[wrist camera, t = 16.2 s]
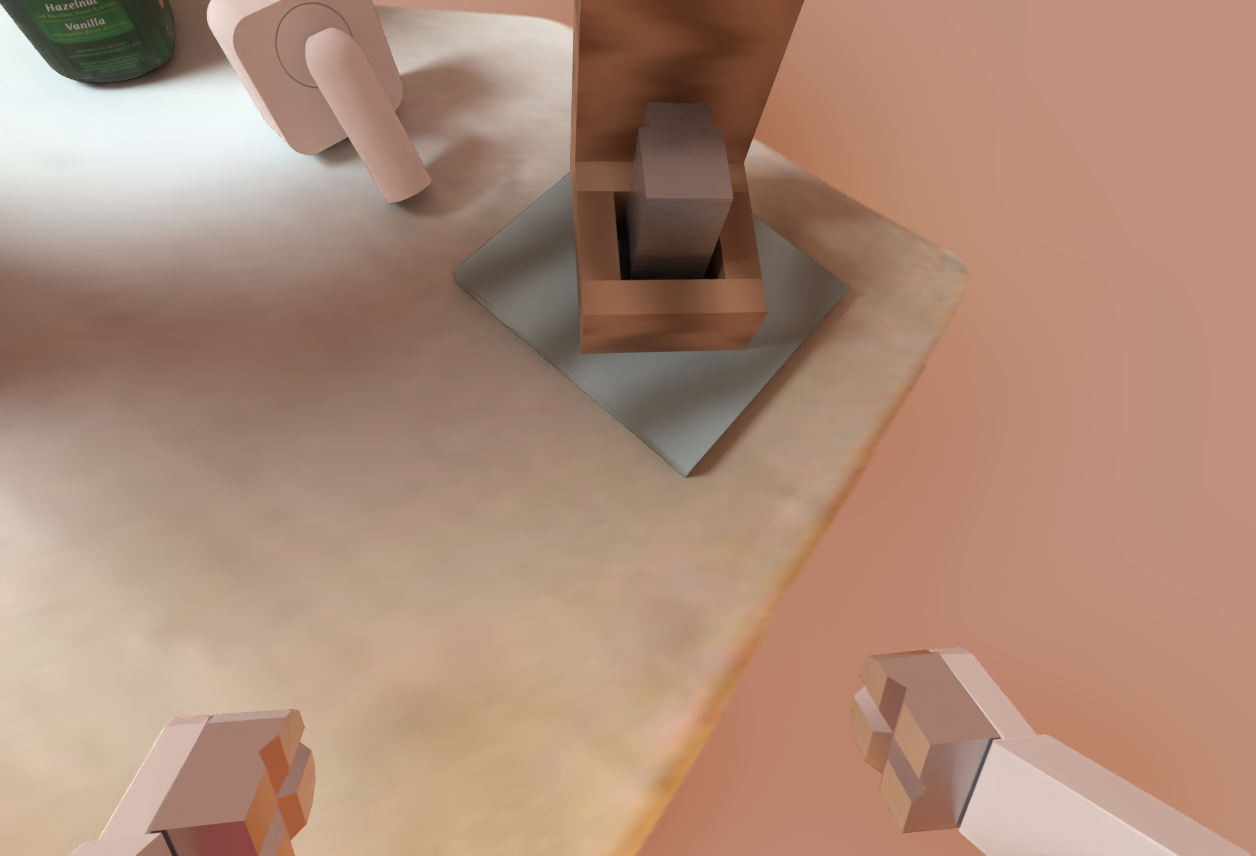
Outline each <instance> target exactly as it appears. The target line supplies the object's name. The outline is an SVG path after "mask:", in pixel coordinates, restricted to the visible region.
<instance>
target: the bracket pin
mask: <svg viewBox="0 0 1256 856" xmlns="http://www.w3.org/2000/svg"><path fill="white" fill-rule="evenodd" d="M732 201H733V193H732V186H731V179H730V173H729V166H728V160H727V153H726V147H725V140H724V134H723V128H712V122H711V115H710V108H709V103H662V102H647V105H646V111H645V118H644V124H643V127H639V131H638V138H637V144H636V151H635V157H634V164H633V170H632V177H631V184H630V190H629V197H628V203H627V210H626V216H625V223H624V230H623V236H622V243H621V249H620V256H621V268H622V280H695V279H703V278H704V275H705V272H706V270H707V267H708V264H709V262H710V259H711V256H712V254H713V251H714V249H715V246H716V243H717V241H718V238H719V235H720V233H721V230H722V227H723V225H724V222H725V220H726V217H727V214H728V212H729V209H730V206H731V204H732Z"/></svg>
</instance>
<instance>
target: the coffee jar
mask: <svg viewBox="0 0 1256 856" xmlns="http://www.w3.org/2000/svg"><path fill="white" fill-rule="evenodd" d="M0 4H1V5H2V6H3V8H4V9H5V10H6V12H7V13H8V14H9V15H10V17H11V18H12V19H13V21H14V22H15V23H16V25H17V26H18V27H19V28H20V30H21V31H22V32H23V33H24V35H25V36H26V37H27V38H28V40H29V41H30V42H31V43H32V45H33V46H34V47H35V48H36V50H37V51H38V52H39V53H40V55H41V56H42V57H43V58H44V59H45V61H46V62H47V63H48V64H49V65H50V67H51V68H52V69H54V70H55V71H56V72H58V73H59V74H61V75H62V76H65V77H67V78H70V79H73V80H77V81H85V82H115V81H123V80H127V79H131V78H135V77H138V76H140V75H142V74H144V73H146V72H148V71H151V70H153V69H155V68H157V67H158V66H160V65H161V64H163V63H164V62H166V61H167V60H168V59H169V58H170V57H171V55H172V53H173V49H174V22H173V17H172V11H171V7H170V3H169V1H168V0H0Z"/></svg>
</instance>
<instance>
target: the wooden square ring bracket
mask: <svg viewBox="0 0 1256 856" xmlns="http://www.w3.org/2000/svg"><path fill="white" fill-rule="evenodd" d="M803 2H804V0H574V32H573V72H572V112H571V151H570V173H568V174H567V175H566V176H565V177H564V178H563V179H561V180H560V181H559V182H558V183H557V184H555V185H554V186H553V187H552V188H551V189H550V190H548V191H547V192H546V193H545V194H544V195H542V196H541V197H540V198H539V199H538V200H537V201H535V202H534V203H533V204H532V205H531V206H529V207H528V208H527V209H526V210H525V211H524V212H522V213H521V214H520V215H519V216H518V217H516V218H515V219H514V220H513V221H512V222H511V223H509V224H508V225H507V226H506V227H505V228H503V229H502V230H501V231H500V232H499V233H497V234H496V235H495V236H494V237H493V238H492V239H490V240H489V241H488V242H487V243H486V244H484V245H483V246H482V247H481V248H480V249H479V250H477V251H476V252H475V253H474V254H473V255H471V256H470V257H469V258H468V259H467V260H466V261H464V262H463V263H462V264H461V265H460V266H458V267H457V268H456V269H455V270H454V271H453V274H454V278H455V282H456V283H457V284H458V285H459V286H460V287H462V288H463V289H464V290H465V291H466V292H467V293H469V294H470V295H471V296H472V297H473V298H475V299H476V300H477V301H478V302H479V303H480V304H482V305H483V306H484V307H485V308H486V309H487V310H489V311H490V312H491V313H492V314H493V315H495V316H496V317H497V318H498V319H499V320H500V321H502V322H503V323H504V324H505V325H506V326H508V327H509V328H510V329H511V330H512V331H513V332H515V333H516V334H517V335H518V336H519V337H520V338H522V339H523V340H524V341H525V342H526V343H528V344H529V345H530V346H531V347H532V348H533V349H535V350H536V351H537V352H538V353H539V354H540V355H542V356H543V357H544V358H545V359H546V360H548V361H549V362H550V363H551V364H552V365H553V366H555V367H556V368H557V369H558V370H559V371H561V372H562V373H563V374H564V375H565V376H566V377H568V378H569V379H570V380H571V381H572V382H573V383H575V384H576V385H577V386H578V387H579V388H581V389H582V390H583V391H584V392H585V393H586V394H588V395H589V396H590V397H591V398H592V399H593V400H595V401H596V402H597V403H598V404H599V405H601V406H602V407H603V408H604V409H605V410H606V411H608V412H609V413H610V414H611V415H612V416H613V417H615V418H616V419H617V420H618V421H619V422H621V423H622V424H623V425H624V426H625V427H626V428H628V429H629V430H630V431H631V432H632V433H634V434H635V435H636V436H637V437H638V438H639V439H641V440H642V441H643V442H644V443H645V444H646V445H648V446H649V447H650V448H651V449H652V450H654V451H655V452H656V453H657V454H658V455H659V456H661V457H662V458H663V459H664V460H665V461H666V462H668V463H669V464H670V465H671V466H672V467H674V468H675V469H676V470H677V471H678V472H679V473H681V474H682V475H683V476H684V477H686V476H687V475H688V474H689V473H690V472H691V470H692V469H693V468H694V467H695V466H696V465H697V463H698V462H699V461H700V460H701V459H702V458H703V457H704V455H705V454H706V453H707V452H708V451H709V450H710V449H711V447H712V446H713V445H714V444H715V443H716V442H717V440H718V439H719V438H720V437H721V436H722V435H723V434H724V432H725V431H726V430H727V429H728V428H729V427H730V425H731V424H732V423H733V422H734V421H735V420H736V419H737V417H738V416H739V415H740V414H741V413H742V412H743V410H744V409H745V408H746V407H747V406H748V405H749V404H750V402H751V401H752V400H753V399H754V398H755V397H756V396H757V394H758V393H759V392H760V391H761V390H762V389H763V387H764V386H765V385H766V384H767V383H768V382H769V381H770V379H771V378H772V377H773V376H774V375H775V374H776V372H777V371H778V370H779V369H780V368H781V367H782V366H783V364H784V363H785V362H786V361H787V360H788V359H789V358H790V356H791V355H792V354H793V353H794V352H795V351H796V349H797V348H798V347H799V346H800V345H801V344H802V343H803V341H804V340H805V339H806V338H807V337H808V336H809V334H810V333H811V332H812V331H813V330H814V329H815V328H816V326H817V325H818V324H819V323H820V322H821V321H822V320H823V318H824V317H825V316H826V315H827V314H828V313H829V311H830V310H831V309H832V308H833V307H834V306H835V305H836V303H837V302H838V301H839V300H840V299H841V298H842V296H843V295H844V294H845V292H846V291H847V290H848V289H849V287H848V286H847V285H845V284H844V283H843V282H841V281H840V280H839V279H837V278H836V277H835V276H834V275H832V274H831V273H830V272H828V271H827V270H826V269H824V268H823V267H822V266H820V265H819V264H818V263H816V262H815V261H814V260H812V259H811V258H810V257H808V256H807V255H806V254H805V253H803V252H802V251H801V250H799V249H798V248H797V247H795V246H794V245H793V244H791V243H790V242H789V241H787V240H786V239H785V238H783V237H782V236H781V235H779V234H778V233H777V232H776V231H774V230H773V229H772V228H770V227H769V226H768V225H766V224H765V223H764V222H762V221H761V220H760V219H758V218H757V217H756V216H754V215H753V214H752V212H751V205H750V199H749V193H748V187H747V180H746V174H745V168H744V161H745V158H746V155H747V153H748V150H749V147H750V145H751V142H752V139H753V136H754V134H755V131H756V128H757V126H758V123H759V120H760V118H761V115H762V112H763V109H764V107H765V104H766V102H767V99H768V96H769V94H770V91H771V88H772V85H773V83H774V80H775V77H776V75H777V72H778V69H779V66H780V64H781V61H782V59H783V56H784V53H785V51H786V48H787V45H788V42H789V40H790V37H791V34H792V32H793V29H794V26H795V24H796V21H797V18H798V16H799V13H800V10H801V8H802V5H803ZM647 102H662V103H709V108H710V115H711V122H712V128H723V134H724V140H725V147H726V153H727V160H728V166H729V173H730V179H731V186H732V193H733V201H732V204H731V206H730V209H729V212H728V214H727V217H726V220H725V222H724V225H723V227H722V230H721V233H720V235H719V238H718V241H717V243H716V246H715V249H714V251H713V254H712V256H711V259H710V262H709V264H708V267H707V270H706V272H705V275H704V278H703V279H695V280H622V268H621V256H620V249H621V243H622V236H623V230H624V223H625V216H626V210H627V203H628V197H629V190H630V184H631V177H632V170H633V164H634V157H635V151H636V144H637V138H638V131H639V127H643V124H644V118H645V111H646V105H647Z"/></svg>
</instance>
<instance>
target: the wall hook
mask: <svg viewBox="0 0 1256 856" xmlns="http://www.w3.org/2000/svg"><path fill="white" fill-rule="evenodd" d="M207 21H208V24H209V27H210V29H211V31H212V33H213V35H214V36H215V38H216V40H217V41H218V43H219V45H220V47H221V48H222V50H223V52H224V53H225V55H226V57H227V58H228V60H229V62H230V64H231V65H232V67H233V69H234V70H235V72H236V74H237V75H238V77H239V79H240V80H241V82H242V84H243V85H244V87H245V89H246V90H247V92H248V94H249V95H250V97H251V99H252V100H253V102H254V104H255V105H256V107H257V109H258V110H259V112H260V114H261V115H262V117H263V119H264V120H265V121H266V123H267V124H268V125H269V126H270V127H271V128H272V129H273V130H274V131H275V132H276V133H277V134H278V135H279V136H280V137H281V138H282V139H283V140H284V141H285V142H286V143H287V144H288V145H289V146H290V147H291V148H292V149H294V150H295V151H297V152H299V153H301V154H305V155H312V154H317V153H319V152H321V151H323V150H325V149H327V148H329V147H330V146H332V145H334V144H336V143H338V142H340V141H342V140H343V139H345V138H347V137H349V139H350V141H351V142H352V144H353V146H354V147H355V149H356V151H357V152H358V154H359V156H360V157H361V159H362V161H363V162H364V164H365V166H366V168H367V169H368V171H369V173H370V174H371V176H372V178H373V179H374V181H375V183H376V184H377V186H378V188H379V189H380V191H381V193H382V194H383V196H384V198H385V199H386V201H387V202H388V203H395V202H399V201H402V200H405V199H407V198H410V197H412V196H414V195H416V194H417V193H419V192H421V191H422V190H424V189H425V188H426V187H427V186H428V185H429V184H430V183H431V181H432V179H431V178H430V176H429V174H428V172H427V170H426V168H425V166H424V165H423V163H422V161H421V159H420V157H419V155H418V153H417V152H416V150H415V148H414V146H413V144H412V142H411V140H410V139H409V137H408V135H407V133H406V131H405V129H404V127H403V126H402V124H401V122H400V120H399V118H398V116H397V114H396V113H395V110H396V109H397V108H398V107H399V106H400V104H401V102H402V99H403V94H404V89H403V84H402V81H401V78H400V75H399V72H398V70H397V67H396V64H395V62H394V59H393V56H392V54H391V51H390V48H389V46H388V43H387V40H386V38H385V35H384V32H383V30H382V27H381V24H380V21H379V19H378V16H377V13H376V11H375V8H374V6H373V3H372V0H211V1H210V3H209V5H208V9H207Z"/></svg>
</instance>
